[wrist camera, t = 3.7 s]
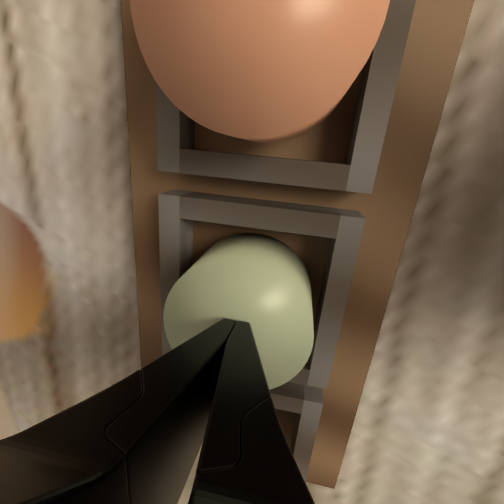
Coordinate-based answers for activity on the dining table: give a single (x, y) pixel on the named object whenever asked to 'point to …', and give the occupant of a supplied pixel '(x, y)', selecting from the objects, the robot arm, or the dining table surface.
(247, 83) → the terracotta button
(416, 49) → the brown compartment tray
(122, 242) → the dining table surface
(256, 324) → the sage green rounded piece
